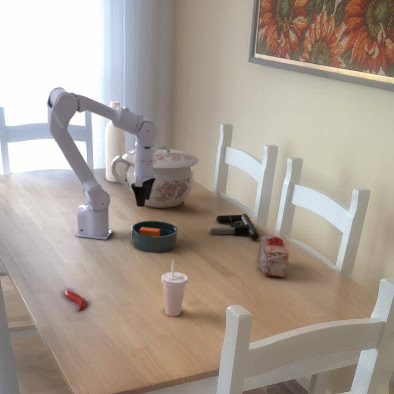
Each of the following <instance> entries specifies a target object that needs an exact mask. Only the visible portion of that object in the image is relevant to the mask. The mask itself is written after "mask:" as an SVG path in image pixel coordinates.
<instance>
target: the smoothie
mask: <svg viewBox="0 0 394 394" xmlns="http://www.w3.org/2000/svg"><path fill="white" fill-rule="evenodd" d="M171 261H172V262H171V271H167V272H165V273H163V274H162V275H161V283H162V289H163V299H164V300H163V301H164V310H165V314H166V315H167V316H171V317H177V316H179V315H180V314H181V311H182V306H183V301H184V296H185V292H186V288H187V287H186V286H187V284H188V283H189V278H188V275H186V274H185V273H183V272H179V271H175V259H172V260H171Z"/></svg>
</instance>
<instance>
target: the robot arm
mask: <svg viewBox="0 0 394 394" xmlns="http://www.w3.org/2000/svg"><path fill="white" fill-rule="evenodd" d="M46 108H47V129H48V132H49V133H50V135H51V137H52V138H53V139H54V142H55V143H56V145H57V147H58V148H59V149H60V152H61V153H62V154H63V157H64V158H65V160H66V162H67V163H68V165H69V167H70V169H71V170H72V172H73V173H74V175H75V177H76V178H77V180H78V182H79V184H80V186H81V188H82V194H83V197H84V199H85V200H86V201H85V204H84V205H79V207H78V209H77V214H76V220H77V221H76V222H77V235H76V236H77V237H80V238H88V239H95V240H96V239H97V240H105V241H106V240H107V239H108V238H109V237H110V236H111V234H112V233H114V232H113V229H110V222H109V221H110V220H109V219H110V218H109V215H110V213H109V206H110V204H111V196H110V194H109V193H108V192H107V191H106V190H105V189H104V188H103V187H102V185H101V184H100V183H99V182H98V180H97V179H96V177H95V175H94V174H93V172H92V171H91V169H90V167H89V166H88V163H87V161H86V160H85V158H84V156H83V155H82V153H81V151H80V149H79V147H78V146H77V144H76V143H75V141H74V139H73V137H72V136H71V134H70V132H69V130H68V128H69V124H70V122H71V120H72V118H73V117H74V116H75V115H76V113H80V114H82V113H84V112H86V111H88V112H90V113H93V114H95V115H97V116H100V117H103V118H105V119H107V120H109V121H111V122H112V124H113V126H114V127H117V128H119V129H121V130H124V131H125V133H129V134H131V135H135V136H134V137H135V138H134V139H135V141H134V150H135V173H134V177H135V183H132V184H131V188H132V190H133V192H134V195H135V197H134V200H135V204H136V206H137V207H138V208H144V207H145V206H146V205H145V200H149V198H150V195H151V190H152V186H153V183H154V181H155V179H156V177H157V175H155V174H153V157H154V148H155V139H156V137H157V135H158V130H157V126H156V124H155V123H154V122H153V121H151V120H150V119H149V118H147V117H145V116H144V115H143V114H141V113H139V114H137V113H135V112H133V111H131V110H130V108H129V107H127V106H125V105H124V106H123V107H122V106H120V107H118V108H116V109H113V108H111V107H110V105H109V106H108V105H107V104H104V103H103V102H100V101H99V100H96V99H94V98H92V97H90V96H88V95H87V94H83V93H81V92H78V91H75V90H71V89H69V90H68V89H67V88H65V87H62V86H56V87H54V88H53V89H52V90H51V91H50V92H49V95H48V97H47V101H46Z"/></svg>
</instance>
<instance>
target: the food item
mask: <svg viewBox="0 0 394 394" xmlns="http://www.w3.org/2000/svg"><path fill="white" fill-rule="evenodd" d="M258 247H259V248H258V252H257V253H258V254H257V260H258V262H259V270H260V271H262V272H263V274H264V276H267V277H273V278H285V276H286V272H287V268H288V266H289V260H290V259H289V258H290V253H289V252H288V250H287V248H286V245H285V242H284V240H283V239H282V237H281V238H280V236H277V235H272V234H271V235H261V237H260V242H259V246H258Z"/></svg>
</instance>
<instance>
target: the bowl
mask: <svg viewBox="0 0 394 394" xmlns="http://www.w3.org/2000/svg"><path fill="white" fill-rule="evenodd" d="M141 227H148V228H156V229H160V236H146V235H142V234H140V229H141ZM178 231H179V229H178V228H177V226H176V225H174V224H172V223H170V222H167V221H161V220H144V221H139V222H136V223H134V224H133V225H132V226H131V231H130V232H131V233H130V234H131V235H130V236H131V237H130V238H131V239H130V240H131V244H132V245H133V247H134V248H136V249H137V250H140V251H143V252H149V253H164V252H169V251H171V250H173V249H174V248H176V246H177V244H178Z"/></svg>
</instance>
